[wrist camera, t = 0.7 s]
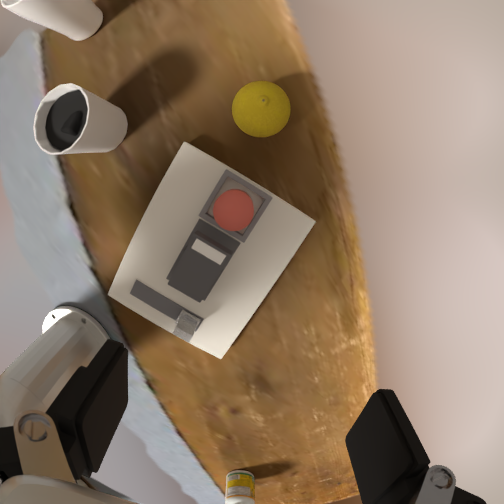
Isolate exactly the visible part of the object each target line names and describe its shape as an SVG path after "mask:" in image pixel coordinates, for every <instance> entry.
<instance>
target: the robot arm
mask: <svg viewBox="0 0 504 504" xmlns="http://www.w3.org/2000/svg"><path fill="white" fill-rule="evenodd" d="M127 403H128V350H127V349H126V348H124V345H123V343H120V342H117V341H114V340H111V339H110V337H109V336H108V334H107V333H106V331H105V330H104V328H103V327H102V326H101V325H100V324H99V323H98V322H97V321H96V320H95V319H94V318H93V317H92V316H90V315H89V314H87V313H86V312H84V311H82V310H80V309H78V308H75V307H71V306H60V307H57V308H55V309H53V310H52V311H51V312H50V313H49V314H48V315H47V316H46V318H45V320H44V323H43V334H42V335H41V336H40V337H38V338H37V339H36V340H35V341H34V342H33V343H32V344H31V345H30V346H29V347H28V348H27V349H26V350H25V351H24V352H23V353H22V354H21V355H20V356H19V357H18V358H17V359H16V360H15V361H14V362H13V363H12V364H11V365H10V366H9V367H8V368H7V369H6V370H5V371H4V372H3V373H2V374H1V375H0V504H138V503H134V502H131V501H128V500H124V499H121V498H118V497H115V496H112V495H109V494H106V493H103V492H100V491H97V490H94V489H91V488H88V487H85V486H82V485H78V483H77V480H80V478H81V476H82V475H84V476H86V477H89V478H90V476H91V473H92V472H95V473H96V472H98V470H99V468H100V465H101V463H102V461H103V458H104V456H105V454H106V451H107V449H108V447H109V445H110V442H111V440H112V438H113V436H114V433H115V431H116V429H117V427H118V425H119V422H120V420H121V418H122V416H123V414H124V411H125V409H126V407H127ZM345 442H346V446H347V450H348V453H349V457H350V460H351V464H352V467H353V471H354V474H355V478H356V481H357V485H358V489H359V492H360V496H361V500H362V503H363V504H486V502H485V501H484V500H483V499H481V498H480V497H478V496H475V495H473V494H471V493H469V492H467V491H464V490H462V489H460V488H458V487H456V486H455V485H456V479H455V476H454V474H453V472H452V471H451V470H450V469H448V468H447V467H445V466H442V465H435V466H432V467H431V468H429V466H428V464H429V463H430V460H429V458H428V456H427V454H426V452H425V450H424V448H423V446H422V444H421V442H420V440H419V438H418V436H417V434H416V432H415V430H414V429H413V426H412V424H411V422H410V421H409V419H408V417H407V415H406V413H405V411H404V409H403V408H402V406H401V404H400V402H399V400H398V398H397V397H396V395H395V393H394V391H393V390H388V389H379V390H377V391H376V392H375V393H373V394H372V396H371V397H370V399H369V401H368V402H367V404H366V406H365V407H364V409H363V411H362V412H361V414H360V415H359V417H358V419H357V420H356V422H355V423H354V425H353V426H352V428H351V429H350V431H349V432H348V434H347V436H346V440H345Z"/></svg>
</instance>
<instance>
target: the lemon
mask: <svg viewBox="0 0 504 504" xmlns="http://www.w3.org/2000/svg"><path fill="white" fill-rule="evenodd" d="M232 115H233V118H234V121H235V123H236V124H237V126H238V127H239V128H240V129H241V130H242V131H243V132H245V133H246V134H249V135H251V136H254V137H268V136H272V135H274V134H276V133H278V132H279V131H280V130H281V129H282V128H284V127H285V125H286V123H287V122H288V120H289V116H290V102H289V98H288V97H287V95H286V93H285V92H284V91H283V90H282V89H281V88H280V87H279V86H277V85H276V84H274V83H271V82H268V81H255V82H251V83H249V84H247V85H245V86H244V87H242V88H241V89H240V90H239V91H238V93H237V94H236V96H235V98H234V100H233V103H232Z"/></svg>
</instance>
